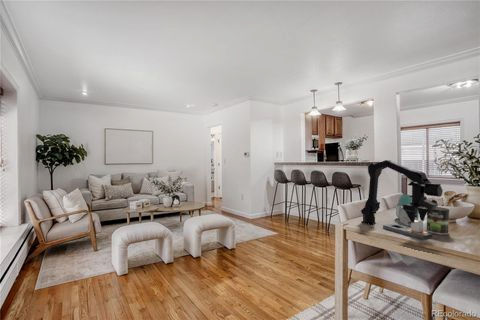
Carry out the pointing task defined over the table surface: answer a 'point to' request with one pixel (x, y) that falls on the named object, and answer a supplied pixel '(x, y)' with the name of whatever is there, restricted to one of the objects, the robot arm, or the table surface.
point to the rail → (407, 231)
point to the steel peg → (417, 226)
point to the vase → (402, 203)
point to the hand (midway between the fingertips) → (417, 221)
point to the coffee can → (438, 221)
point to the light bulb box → (406, 217)
